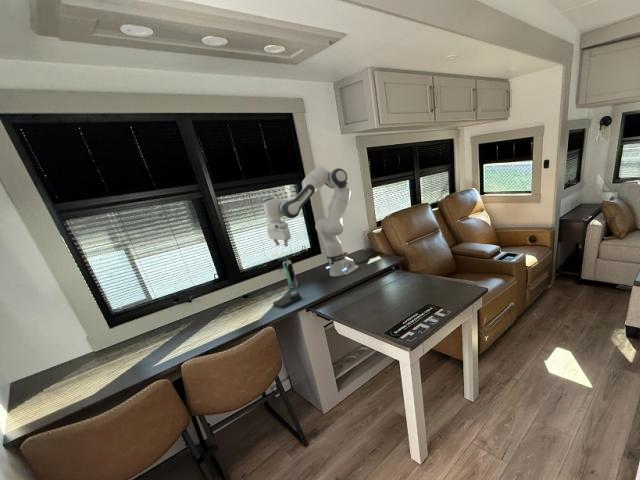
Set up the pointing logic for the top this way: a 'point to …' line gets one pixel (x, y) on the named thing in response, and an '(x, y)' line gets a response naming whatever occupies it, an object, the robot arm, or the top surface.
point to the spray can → (290, 273)
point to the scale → (287, 301)
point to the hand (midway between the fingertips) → (282, 245)
